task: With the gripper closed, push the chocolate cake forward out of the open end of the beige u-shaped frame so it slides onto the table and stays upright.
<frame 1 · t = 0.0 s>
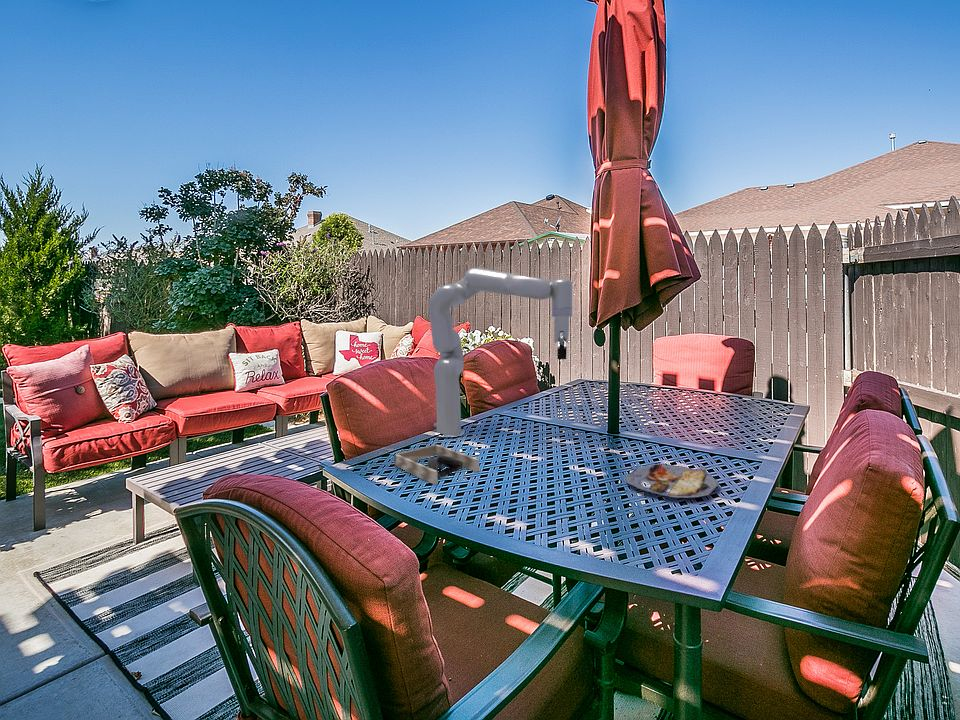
hand: (562, 357, 194), 31 cm above the table, tool pointing down, fingers open, 9 cm apart
food plate: (671, 486, 146), on the table
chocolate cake: (443, 473, 161), on the table
beige u-shaped frame: (437, 469, 164), on the table
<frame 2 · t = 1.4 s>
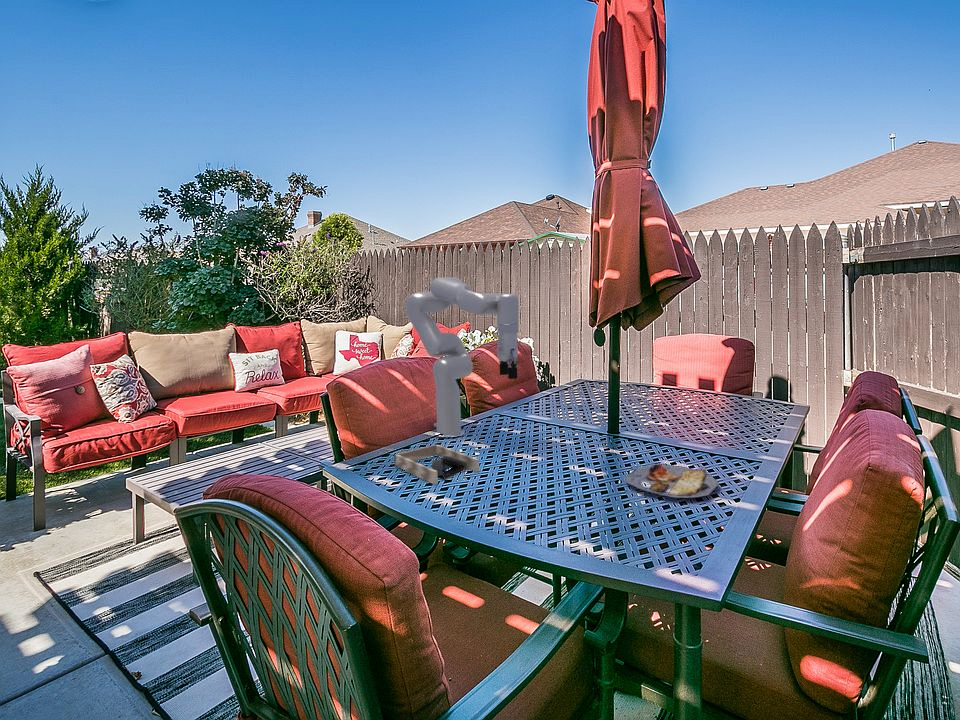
hand: (508, 376, 182), 26 cm above the table, tool pointing down, fingers open, 9 cm apart
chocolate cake: (447, 474, 160), on the table
everything else where it was.
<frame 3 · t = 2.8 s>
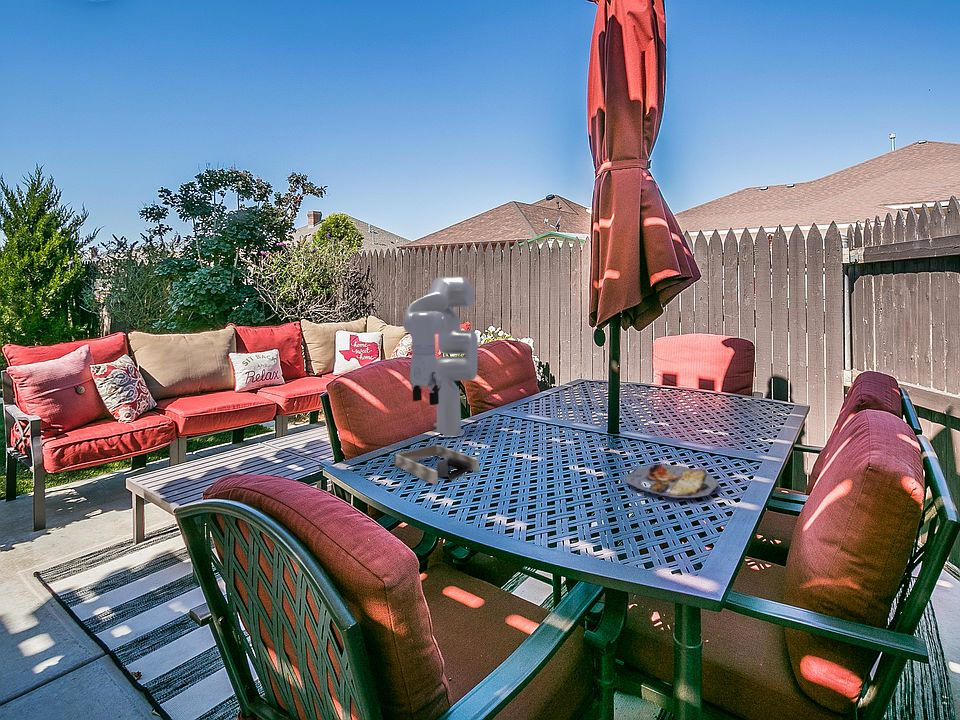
hand: (425, 402, 167), 21 cm above the table, tool pointing down, fingers open, 9 cm apart
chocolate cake: (452, 475, 159), on the table
everything else where it was.
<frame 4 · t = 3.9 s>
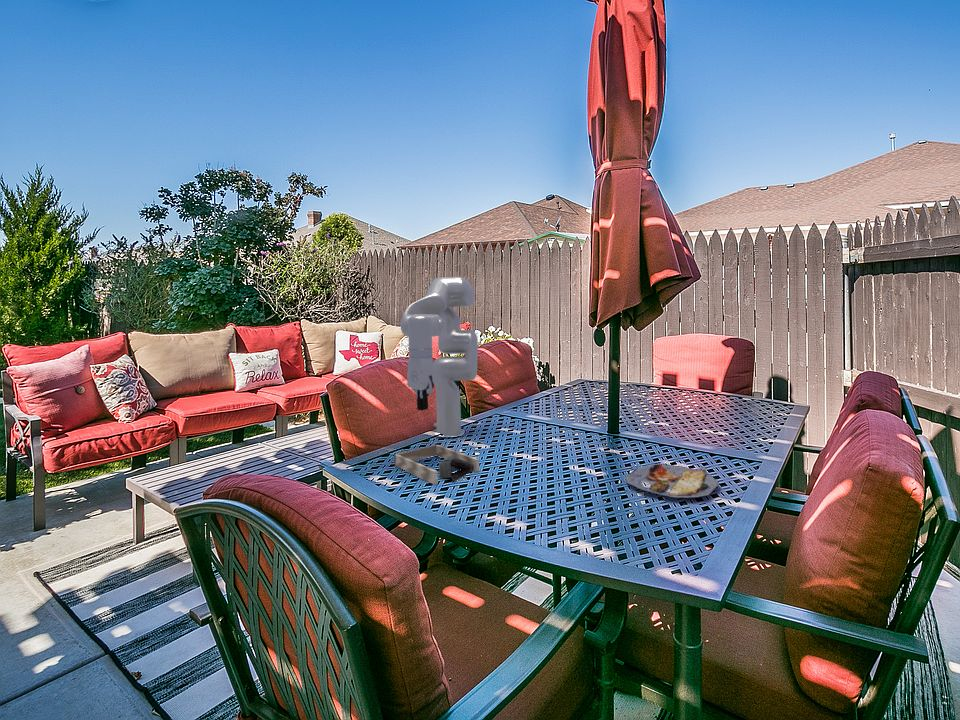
hand: (422, 409, 167), 19 cm above the table, tool pointing down, fingers closed
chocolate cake: (454, 476, 158), on the table
everything else where it was.
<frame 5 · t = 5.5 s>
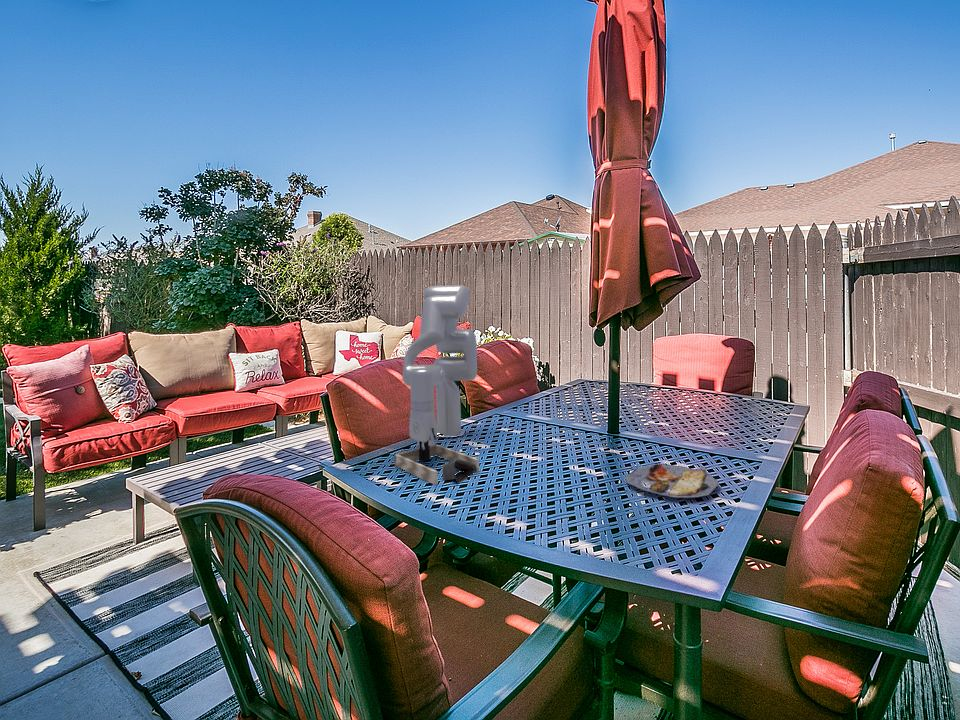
hand: (424, 459, 169), 1 cm above the table, tool pointing down, fingers closed
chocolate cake: (458, 477, 157), on the table
everything else where it was.
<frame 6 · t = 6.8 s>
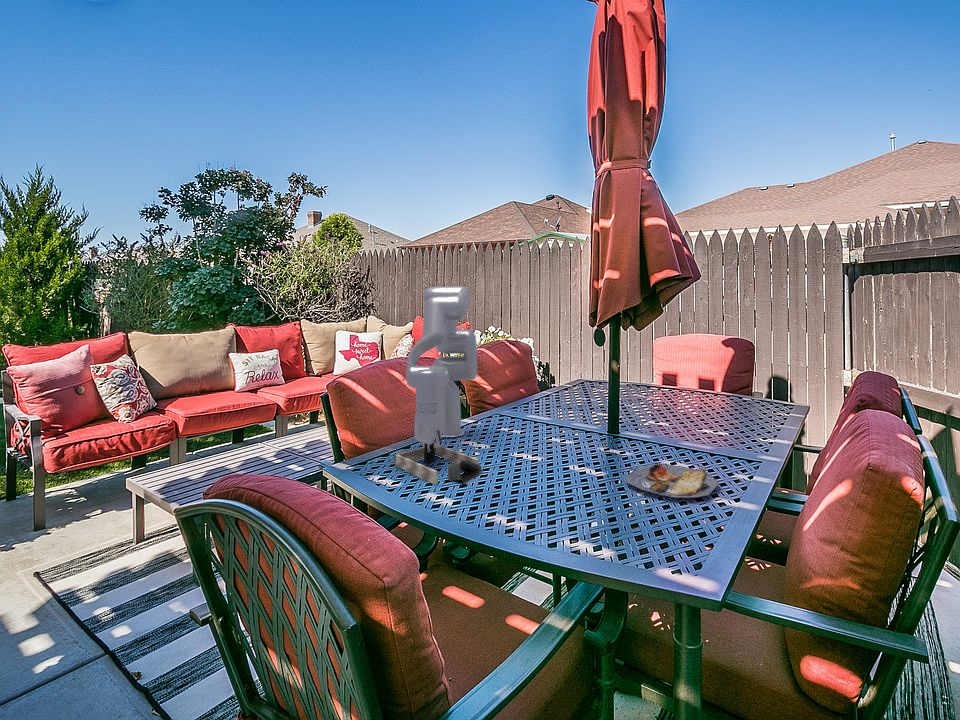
hand: (429, 462, 166), 1 cm above the table, tool pointing down, fingers closed
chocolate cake: (462, 478, 156), on the table
everything else where it was.
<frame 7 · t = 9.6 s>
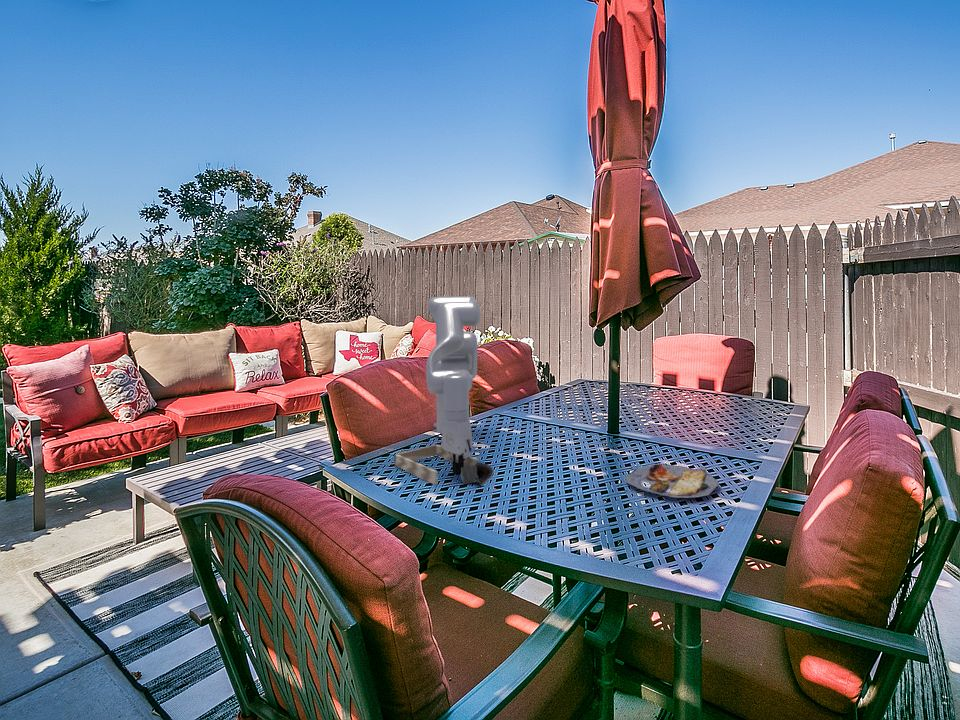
hand: (458, 473, 155), 1 cm above the table, tool pointing down, fingers closed
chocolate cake: (475, 480, 154), on the table, touching gripper
everything else where it was.
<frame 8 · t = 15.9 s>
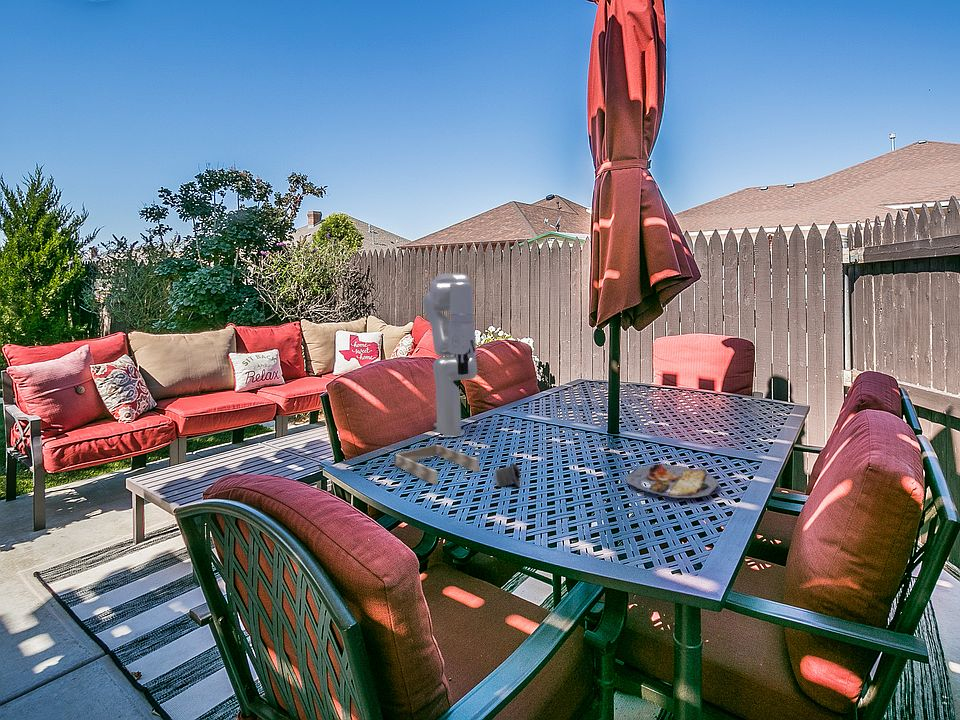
hand: (463, 374, 171), 29 cm above the table, tool pointing down, fingers closed
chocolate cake: (507, 482, 152), on the table
everything else where it was.
at the end: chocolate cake inside the target area (8.2 cm from its centre), on the table; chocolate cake tilted 0°; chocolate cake touching table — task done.
